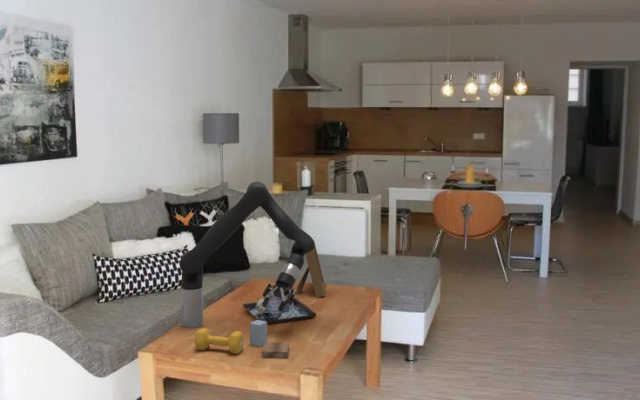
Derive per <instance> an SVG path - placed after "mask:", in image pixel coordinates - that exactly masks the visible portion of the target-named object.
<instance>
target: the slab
mask: <svg viewBox="0 0 640 400" xmlns="http://www.w3.org/2000/svg"><path fill="white" fill-rule="evenodd" d="M289 351H290V342H280V341H279V342H274V341H271V342H270V341H267V342H264V345H262V350H261V358H262V359H288V357H289Z"/></svg>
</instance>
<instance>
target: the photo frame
mask: <svg viewBox="0 0 640 400" xmlns="http://www.w3.org/2000/svg"><path fill="white" fill-rule="evenodd" d="M317 250H318V249H317V246H316V245H315V248H314V249H313V250H312V251H311V252H308V253H305V255H304V256H305V258H306V263H307V267H306V269H305V270H304V273H303V275H302V276H301V279H299V282H298V284H297V286H296V291H295V292H296V294H295V296H296V295H300V294H301V293H302V292H303V289H304V287H305V284H306V281H307V278H308V276H309V274H310V278H311V282H312V287H313V291H314V294H315V298H316V299H317V298H323V297H325V295H326V294H325V293H326V292H325V291H326V289H325V287H326V285H325V284H326V283H325V280H324V275H323V271H322V267H321V263H320V259H319V254H318V252H317Z"/></svg>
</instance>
